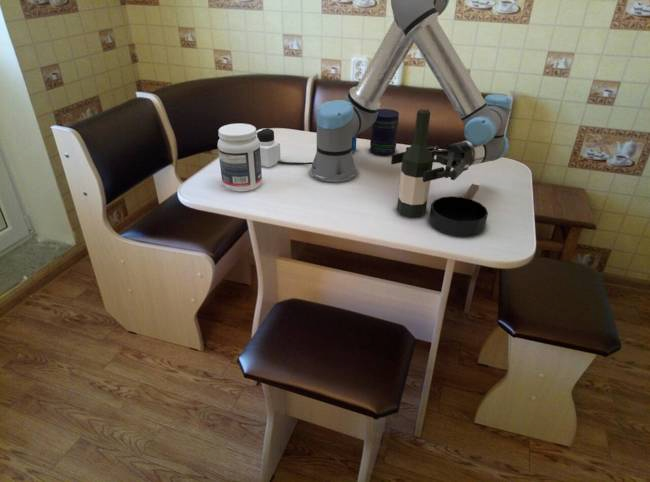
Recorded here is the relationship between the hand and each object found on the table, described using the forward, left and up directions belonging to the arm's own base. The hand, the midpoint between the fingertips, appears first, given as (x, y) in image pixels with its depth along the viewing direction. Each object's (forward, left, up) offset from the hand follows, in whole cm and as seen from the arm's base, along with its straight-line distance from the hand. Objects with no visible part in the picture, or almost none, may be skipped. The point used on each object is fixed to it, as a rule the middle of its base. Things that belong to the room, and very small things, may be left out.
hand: (407, 167), depth 124 cm
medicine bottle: (-56, +11, -14) cm, 59 cm away
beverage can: (-37, +37, -14) cm, 54 cm away
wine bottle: (+2, +3, -14) cm, 15 cm away
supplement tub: (-52, -8, -14) cm, 54 cm away
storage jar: (-25, +43, -14) cm, 52 cm away
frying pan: (+15, +8, -14) cm, 22 cm away
